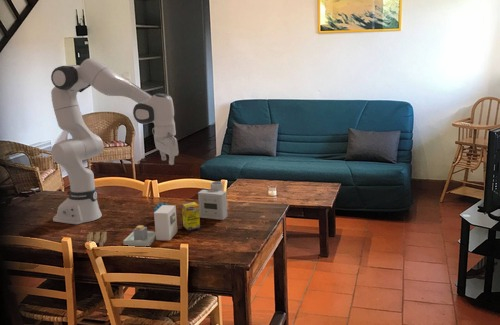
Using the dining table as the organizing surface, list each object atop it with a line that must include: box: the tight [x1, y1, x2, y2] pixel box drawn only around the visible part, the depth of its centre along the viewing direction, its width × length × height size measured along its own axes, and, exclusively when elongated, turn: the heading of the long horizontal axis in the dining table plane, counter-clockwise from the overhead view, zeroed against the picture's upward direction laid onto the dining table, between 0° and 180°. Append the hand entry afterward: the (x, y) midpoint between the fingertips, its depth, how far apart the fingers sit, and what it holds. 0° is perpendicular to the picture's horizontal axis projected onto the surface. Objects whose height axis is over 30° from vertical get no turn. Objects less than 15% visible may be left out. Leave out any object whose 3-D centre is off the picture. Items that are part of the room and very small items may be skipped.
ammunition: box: [84, 231, 107, 247], centre depth 217 cm, size 5×7×8 cm
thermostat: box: [197, 181, 228, 221], centre depth 247 cm, size 12×14×15 cm
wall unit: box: [153, 204, 178, 241], centre depth 223 cm, size 7×10×12 cm
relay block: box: [132, 224, 148, 241], centre depth 219 cm, size 4×4×6 cm
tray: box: [122, 230, 157, 247], centre depth 220 cm, size 11×11×2 cm
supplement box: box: [181, 201, 201, 232], centre depth 231 cm, size 6×6×11 cm
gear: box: [153, 202, 169, 212], centre depth 244 cm, size 11×6×10 cm
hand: (167, 162), depth 230 cm, fingers open, 8 cm apart
